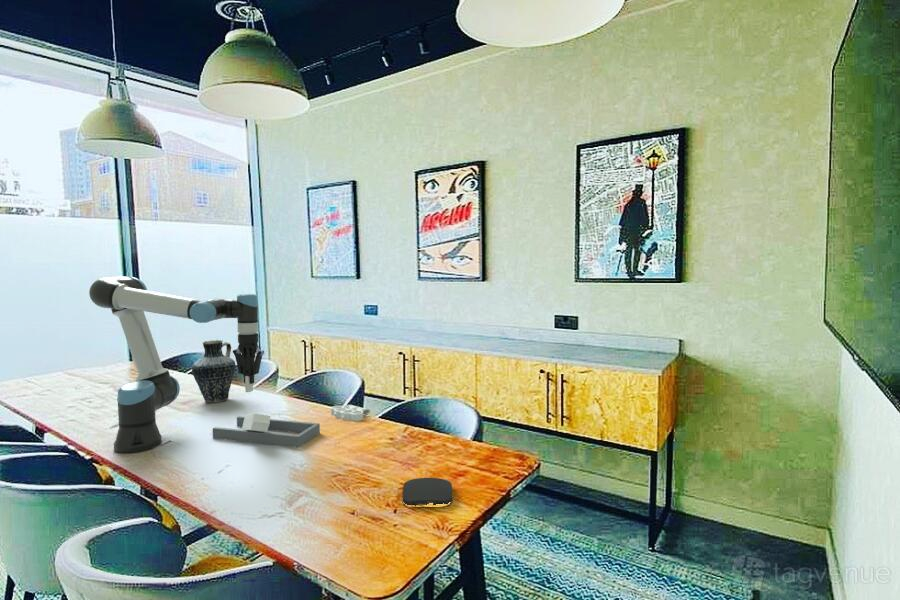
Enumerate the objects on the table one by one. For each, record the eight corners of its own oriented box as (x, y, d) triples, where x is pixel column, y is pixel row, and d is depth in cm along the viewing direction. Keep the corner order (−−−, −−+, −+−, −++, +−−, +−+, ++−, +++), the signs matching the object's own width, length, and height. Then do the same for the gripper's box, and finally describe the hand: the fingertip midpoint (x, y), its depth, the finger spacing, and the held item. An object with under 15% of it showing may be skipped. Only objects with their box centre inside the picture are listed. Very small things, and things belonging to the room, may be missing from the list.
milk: (256, 431, 200) (269, 432, 182) (241, 430, 197) (252, 430, 179) (260, 416, 202) (272, 415, 184) (244, 414, 199) (255, 413, 181)
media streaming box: (451, 485, 154) (451, 476, 153) (453, 509, 139) (453, 498, 139) (404, 486, 153) (404, 476, 153) (401, 509, 138) (401, 499, 138)
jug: (219, 407, 233) (217, 345, 231) (183, 404, 237) (181, 343, 235) (245, 396, 254) (244, 338, 251) (212, 393, 257) (211, 337, 255)
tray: (298, 447, 184) (298, 436, 183) (212, 438, 192) (212, 428, 192) (319, 433, 199) (319, 423, 199) (239, 425, 208) (239, 416, 208)
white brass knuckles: (375, 416, 224) (351, 424, 212) (347, 409, 234) (323, 416, 222) (375, 408, 224) (351, 416, 212) (347, 402, 234) (323, 409, 222)
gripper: (268, 332, 197) (269, 390, 198) (239, 331, 200) (241, 388, 201) (256, 335, 189) (257, 395, 191) (227, 333, 193) (228, 392, 194)
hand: (249, 391), depth 196 cm, fingers closed
